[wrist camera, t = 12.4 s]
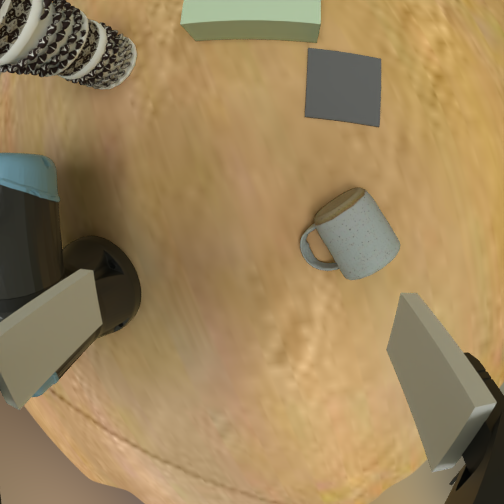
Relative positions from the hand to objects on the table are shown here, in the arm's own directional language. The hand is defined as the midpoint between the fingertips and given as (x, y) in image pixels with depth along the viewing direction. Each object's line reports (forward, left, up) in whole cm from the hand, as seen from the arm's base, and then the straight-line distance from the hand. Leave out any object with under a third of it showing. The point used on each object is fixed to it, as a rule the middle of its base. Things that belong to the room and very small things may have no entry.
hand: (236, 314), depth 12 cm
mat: (+7, +16, -27) cm, 32 cm away
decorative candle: (-24, +20, -27) cm, 41 cm away
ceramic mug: (+9, -2, -27) cm, 28 cm away
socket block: (-4, +29, -27) cm, 39 cm away
